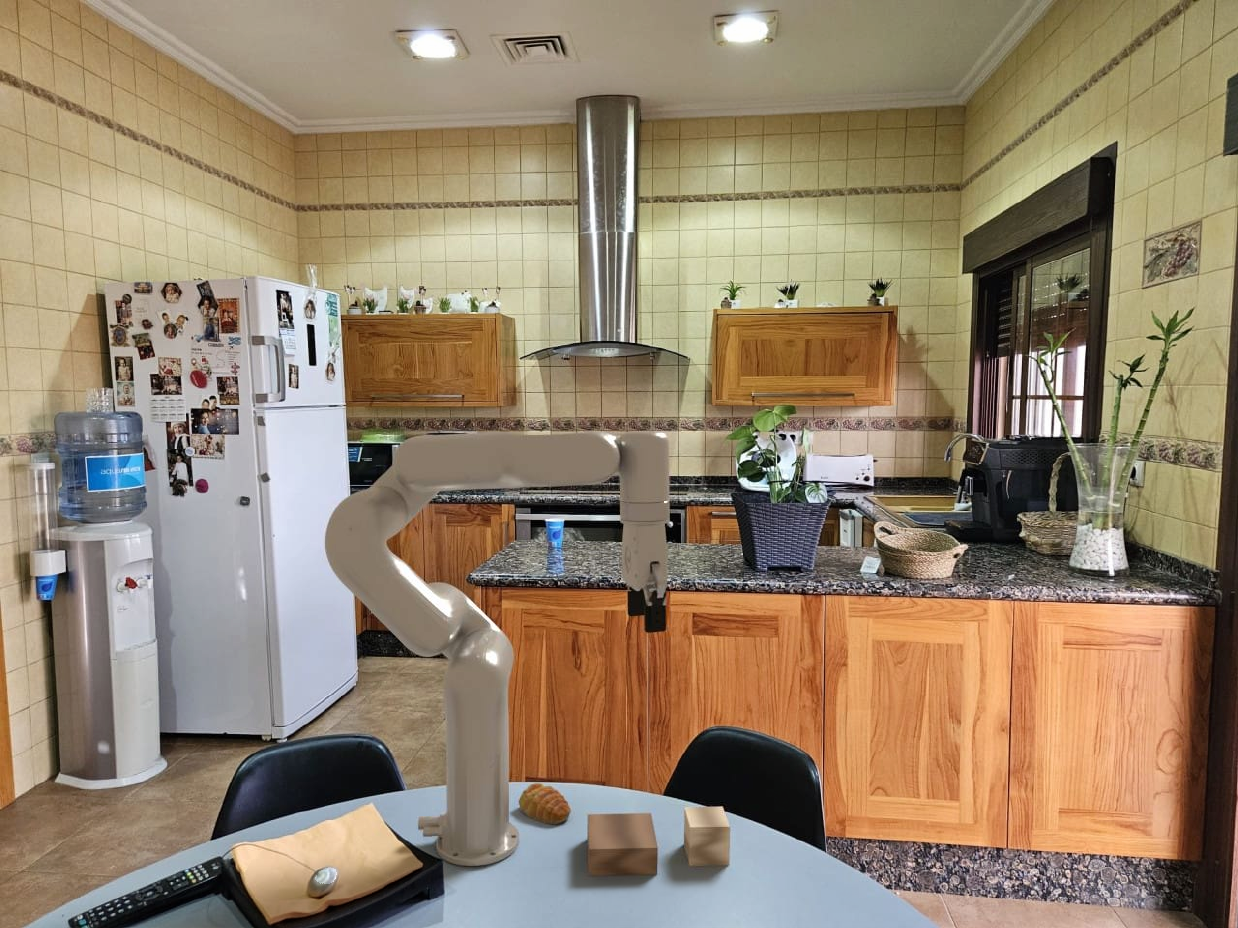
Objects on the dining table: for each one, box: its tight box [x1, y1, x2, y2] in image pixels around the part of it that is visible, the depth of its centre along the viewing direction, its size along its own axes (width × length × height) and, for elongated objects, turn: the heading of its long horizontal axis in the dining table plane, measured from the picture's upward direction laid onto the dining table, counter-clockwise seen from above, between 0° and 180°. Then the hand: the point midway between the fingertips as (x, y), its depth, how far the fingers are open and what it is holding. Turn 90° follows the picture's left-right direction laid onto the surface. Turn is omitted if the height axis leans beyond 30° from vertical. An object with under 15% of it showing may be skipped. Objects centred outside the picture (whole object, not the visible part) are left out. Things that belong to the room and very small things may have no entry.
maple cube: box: [683, 806, 731, 867], centre depth 121 cm, size 6×6×6 cm
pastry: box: [518, 782, 572, 825], centre depth 133 cm, size 9×7×4 cm
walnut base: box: [587, 812, 659, 877], centre depth 120 cm, size 10×10×4 cm
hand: (646, 623), depth 122 cm, fingers open, 9 cm apart
